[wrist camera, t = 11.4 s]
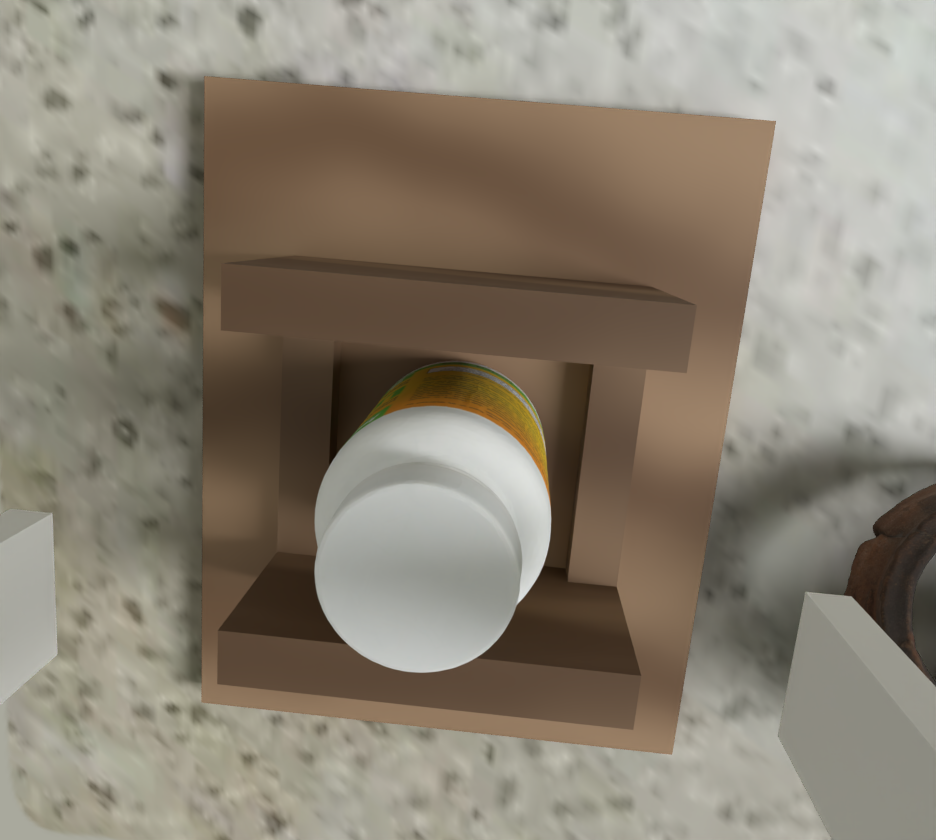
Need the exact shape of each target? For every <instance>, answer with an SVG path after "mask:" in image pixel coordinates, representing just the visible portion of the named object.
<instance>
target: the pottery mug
mask: <svg viewBox="0 0 936 840" xmlns="http://www.w3.org/2000/svg"><path fill="white" fill-rule="evenodd" d="M873 531H874V534H875V536H876V538H874V539H871V540H868V541H865V542H864V543H862V544H861V545H860V546H859V548H858V550H857V553H856V555H855V559H854V560H853V564H852V567H851V573H850V577H849V579H848V585H847V589H846V591H845V593H844V596H852V598H853V599H854V600H855V601H856V602H857V603H858V604H859V605H860V606H861V607H862V608H863V609H864V610H865V611H866V613H867V614H868V615H869V616H870V617H871V618H872V619H873V620H874V621H875V622H876V623H877V624H878V625H879V626H880V628H881V629H882V630H883V631H884V632H885V633H886V634H887V635H888V636H889V637H890V638H891V639H892V640H893V641H894V643H895V644H896V645H897V646H898V647H899V648H900V649H901V650H902V651H903V652H904V653H905V654H906V655H907V657H908V658H909V659H910V660H911V661H912V662H913V663H914V664H915V665H916V666H917V667H918V668H919V669H920V670H921V672H922V673H923V674H924V675H925V676H926V677H927V678H928V679H929V680H930V681H931V682H932V683H933V684H934V685H935V687H936V682H935V681H934V680H933V678H932V677H931V675H930V674H929V672H928V670H927V669H926V666H925V665H924V663H923V661H922V658H921V657H920V655H919V654H918V652H917V651H916V647H915V640H914V635H913V628H912V621H913V612H912V605H913V598H914V593H915V588H916V585H917V581H918V579H919V577H920V575H921V574H922V572H923V570H924V568H925V566H926V565H927V563H928V562H929V561H930V559H931V558H932V557H933V556H934V554H935V553H936V484H934V485H931V486H929V487H927V488H925V489H922V490H920V491H918V492H917V493H915V494H913V495H911V496H910V497H908V498H906V499H904V500H903V501H901V502H900V503H899V504H897V505H896V506H895V507H894V508H892V509H891V510H890V511H888V512H887V513H886V514H884V515H883V516H881V517H880V518H879V519H878V520H877V521H876V522H875V524H874V525H873Z"/></svg>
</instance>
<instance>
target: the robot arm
mask: <svg viewBox="0 0 936 840" xmlns="http://www.w3.org/2000/svg"><path fill="white" fill-rule="evenodd" d="M56 655H57V627H56V598H55V569H54V539H53V513H47V512H37V511H28V510H18V509H9V510H7V511H5V512H3V513H1V514H0V705H1V704H2V703H3V702H4V701H5V700H7V699H8V698H9V697H10V696H11V695H12V694H13V693H14V692H16V691H17V690H18V689H19V688H20V687H21V686H22V685H24V684H25V683H26V682H27V681H28V680H29V679H30V678H31V677H33V676H34V675H35V674H36V673H37V672H38V671H39V670H40V669H42V668H43V667H44V666H45V665H46V664H47V663H48V662H49V661H51V660H52V659H53V658H54V657H55V656H56ZM778 737H779V739H780V741H781V743H782V745H783V747H784V749H785V750H786V752H787V754H788V756H789V758H790V760H791V762H792V764H793V766H794V768H795V770H796V772H797V774H798V775H799V777H800V779H801V781H802V783H803V785H804V787H805V789H806V791H807V793H808V795H809V797H810V799H811V801H812V802H813V804H814V806H815V808H816V810H817V812H818V814H819V816H820V818H821V820H822V822H823V824H824V826H825V827H826V829H827V831H828V833H829V835H830V837H831V839H832V840H936V687H935V685H934V684H933V683H932V682H931V681H930V680H929V679H928V678H927V677H926V676H925V675H924V674H923V673H922V672H921V670H920V669H919V668H918V667H917V666H916V665H915V664H914V663H913V662H912V661H911V660H910V659H909V658H908V657H907V655H906V654H905V653H904V652H903V651H902V650H901V649H900V648H899V647H898V646H897V645H896V644H895V643H894V641H893V640H892V639H891V638H890V637H889V636H888V635H887V634H886V633H885V632H884V631H883V630H882V629H881V628H880V626H879V625H878V624H877V623H876V622H875V621H874V620H873V619H872V618H871V617H870V616H869V615H868V614H867V613H866V611H865V610H864V609H863V608H862V607H861V606H860V605H859V604H858V603H857V602H856V601H855V600H854V599H853V598H852V596H842V595H833V594H823V593H813V592H805V597H804V602H803V607H802V612H801V618H800V623H799V628H798V633H797V638H796V644H795V649H794V654H793V659H792V664H791V670H790V675H789V680H788V685H787V690H786V696H785V701H784V706H783V711H782V716H781V722H780V727H779V732H778Z"/></svg>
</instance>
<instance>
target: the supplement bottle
mask: <svg viewBox="0 0 936 840" xmlns="http://www.w3.org/2000/svg"><path fill="white" fill-rule="evenodd" d="M315 534H316V540H317V546H318V549H317V554H316V560H315V571H314V574H315V585H316V591H317V595H318V599H319V602H320V604H321V607H322V610H323V612H324V614H325V616H326V618H327V620H328V621H329V623H330V624H331V625H332V627H333V628H334V630H335V631H336V632H337V634H338V635H339V636H340V637H341V638H342V639H343V640H344V641H345V642H346V643H347V644H348V645H349V646H350V647H352V648H353V649H354V650H355V651H357V652H358V653H359V654H361V655H362V656H364V657H366V658H368V659H369V660H371V661H373V662H376V663H378V664H380V665H383V666H385V667H388V668H392V669H396V670H400V671H406V672H418V673H427V672H437V671H442V670H447V669H452V668H455V667H458V666H460V665H463V664H465V663H467V662H469V661H471V660H473V659H475V658H476V657H478V656H480V655H481V654H483V653H484V652H485V651H486V650H488V649H489V648H490V647H491V646H492V645H493V644H494V643H495V642H496V641H497V640H498V638H499V637H500V636H501V635H502V634H503V632H504V631H505V629H506V627H507V626H508V624H509V622H510V620H511V619H512V616H513V614H514V612H515V609H516V606H517V604H518V603H519V602H520V601H521V600H522V599H523V598H524V597H525V595H526V594H527V593H528V591H529V590H530V589H531V587H532V586H533V584H534V583H535V581H536V579H537V578H538V576H539V574H540V572H541V570H542V567H543V565H544V562H545V559H546V556H547V552H548V548H549V542H550V534H551V503H550V493H549V484H548V473H547V461H546V447H545V439H544V434H543V429H542V425H541V422H540V419H539V417H538V414H537V412H536V410H535V408H534V406H533V404H532V403H531V401H530V400H529V398H528V397H527V396H526V394H525V393H524V392H523V391H522V390H521V389H520V388H519V387H518V386H517V385H516V384H515V383H514V382H513V381H511V380H510V379H509V378H507V377H506V376H504V375H503V374H501V373H500V372H498V371H496V370H494V369H491V368H489V367H487V366H484V365H481V364H477V363H472V362H466V361H445V362H437V363H433V364H429V365H426V366H423V367H421V368H419V369H416V370H414V371H412V372H411V373H409V374H407V375H406V376H404V377H403V378H402V379H400V380H399V381H398V382H397V383H396V384H394V385H393V386H392V387H391V388H390V389H389V390H388V391H387V393H386V394H385V395H384V396H383V397H382V399H381V400H380V401H379V403H378V404H377V405H376V406H375V408H374V409H373V410H372V411H371V413H370V414H369V415H368V417H367V418H366V419H365V420H364V422H363V423H362V424H361V425H360V426H359V428H358V429H357V430H356V431H355V433H354V434H353V435H352V436H351V437H350V439H349V440H348V441H347V442H346V443H345V444H344V446H343V447H342V448H341V449H340V450H339V452H338V454H337V455H336V457H335V458H334V459H333V461H332V463H331V464H330V466H329V468H328V470H327V472H326V473H325V476H324V478H323V480H322V483H321V486H320V489H319V492H318V496H317V500H316V507H315Z"/></svg>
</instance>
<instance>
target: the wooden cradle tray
mask: <svg viewBox="0 0 936 840" xmlns="http://www.w3.org/2000/svg"><path fill="white" fill-rule="evenodd" d="M775 124H776V121H767V120H754V119H742V118H729V117H716V116H703V115H691V114H678V113H665V112H653V111H640V110H627V109H614V108H602V107H589V106H576V105H564V104H551V103H538V102H525V101H513V100H500V99H487V98H475V97H462V96H449V95H436V94H424V93H411V92H398V91H386V90H373V89H360V88H347V87H335V86H322V85H309V84H297V83H284V82H271V81H258V80H246V79H233V78H220V77H208V76H204V277H203V491H202V702H203V703H212V704H221V705H230V706H239V707H248V708H257V709H266V710H275V711H284V712H293V713H302V714H311V715H320V716H329V717H338V718H347V719H356V720H365V721H374V722H383V723H392V724H401V725H410V726H419V727H428V728H437V729H446V730H455V731H464V732H473V733H482V734H491V735H500V736H509V737H518V738H527V739H536V740H545V741H554V742H563V743H572V744H581V745H590V746H599V747H608V748H617V749H626V750H635V751H644V752H653V753H662V754H671V755H672V752H673V746H674V739H675V733H676V727H677V721H678V715H679V709H680V703H681V697H682V691H683V685H684V679H685V672H686V666H687V660H688V654H689V648H690V642H691V636H692V630H693V624H694V618H695V611H696V605H697V599H698V593H699V587H700V581H701V575H702V569H703V563H704V557H705V551H706V544H707V538H708V532H709V526H710V520H711V514H712V508H713V502H714V496H715V490H716V483H717V477H718V471H719V465H720V459H721V453H722V447H723V441H724V435H725V429H726V423H727V416H728V410H729V404H730V398H731V392H732V386H733V380H734V374H735V368H736V362H737V356H738V349H739V343H740V337H741V331H742V325H743V319H744V313H745V307H746V301H747V295H748V288H749V282H750V276H751V270H752V264H753V258H754V252H755V246H756V240H757V234H758V228H759V221H760V215H761V209H762V203H763V197H764V191H765V185H766V179H767V173H768V167H769V160H770V154H771V148H772V142H773V136H774V130H775ZM445 361H466V362H472V363H477V364H481V365H484V366H487V367H489V368H491V369H494V370H496V371H498V372H500V373H501V374H503V375H504V376H506V377H507V378H509V379H510V380H511V381H513V382H514V383H515V384H516V385H517V386H518V387H519V388H520V389H521V390H522V391H523V392H524V393H525V394H526V396H527V397H528V398H529V400H530V401H531V403H532V404H533V406H534V408H535V410H536V412H537V414H538V417H539V419H540V422H541V425H542V429H543V434H544V439H545V447H546V461H547V473H548V484H549V493H550V503H551V534H550V542H549V548H548V552H547V556H546V559H545V562H544V565H543V567H542V570H541V572H540V574H539V576H538V578H537V579H536V581H535V583H534V584H533V586H532V587H531V589H530V590H529V591H528V593H527V594H526V595H525V597H524V598H523V599H522V600H521V601H520V602H519V603H518V604H517V606H516V609H515V612H514V614H513V616H512V619H511V620H510V622H509V624H508V626H507V627H506V629H505V631H504V632H503V634H502V635H501V636H500V637H499V638H498V640H497V641H496V642H495V643H494V644H493V645H492V646H491V647H490V648H489V649H488V650H486V651H485V652H484V653H483V654H481V655H480V656H478V657H476V658H475V659H473V660H471V661H469V662H467V663H465V664H463V665H460V666H458V667H455V668H452V669H447V670H442V671H437V672H427V673H418V672H406V671H400V670H396V669H392V668H388V667H385V666H383V665H380V664H378V663H376V662H373V661H371V660H369V659H368V658H366V657H364V656H362V655H361V654H359V653H358V652H357V651H355V650H354V649H353V648H352V647H350V646H349V645H348V644H347V643H346V642H345V641H344V640H343V639H342V638H341V637H340V636H339V635H338V634H337V632H336V631H335V630H334V628H333V627H332V625H331V624H330V623H329V621H328V620H327V618H326V616H325V614H324V612H323V610H322V607H321V604H320V602H319V599H318V595H317V591H316V585H315V574H314V571H315V560H316V554H317V549H318V546H317V540H316V534H315V507H316V500H317V496H318V492H319V489H320V486H321V483H322V480H323V478H324V476H325V473H326V472H327V470H328V468H329V466H330V464H331V463H332V461H333V459H334V458H335V457H336V455H337V454H338V452H339V450H340V449H341V448H342V447H343V446H344V444H345V443H346V442H347V441H348V440H349V439H350V437H351V436H352V435H353V434H354V433H355V431H356V430H357V429H358V428H359V426H360V425H361V424H362V423H363V422H364V420H365V419H366V418H367V417H368V415H369V414H370V413H371V411H372V410H373V409H374V408H375V406H376V405H377V404H378V403H379V401H380V400H381V399H382V397H383V396H384V395H385V394H386V393H387V391H388V390H389V389H390V388H391V387H392V386H393V385H394V384H396V383H397V382H398V381H399V380H400V379H402V378H403V377H404V376H406V375H407V374H409V373H411V372H412V371H414V370H416V369H419V368H421V367H423V366H426V365H429V364H433V363H437V362H445Z"/></svg>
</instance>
